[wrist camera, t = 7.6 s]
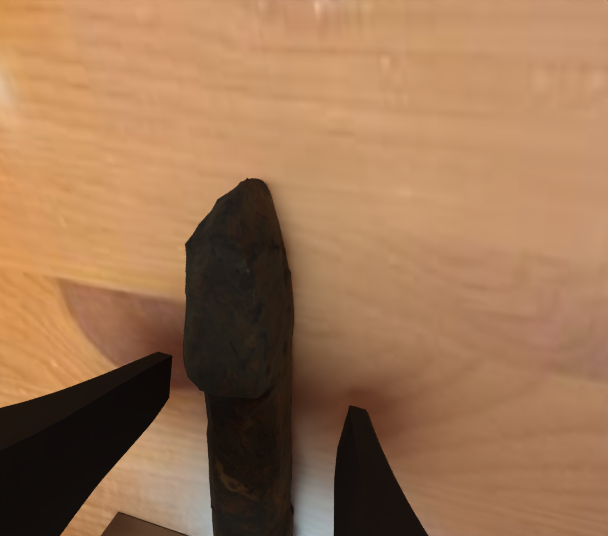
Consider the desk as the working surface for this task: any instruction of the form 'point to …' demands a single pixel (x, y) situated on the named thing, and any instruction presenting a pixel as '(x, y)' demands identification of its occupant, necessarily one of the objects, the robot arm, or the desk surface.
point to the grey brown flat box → (135, 528)
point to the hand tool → (243, 359)
